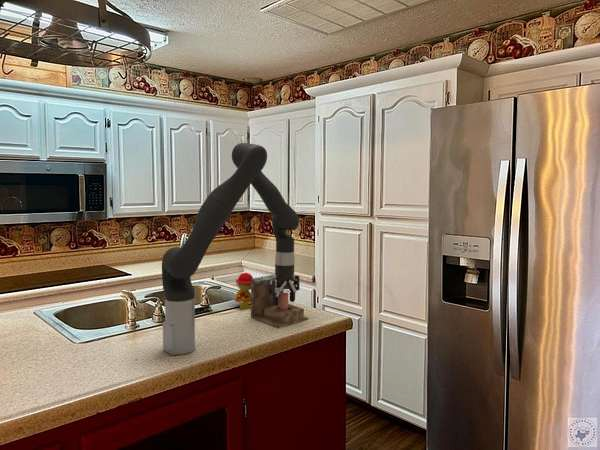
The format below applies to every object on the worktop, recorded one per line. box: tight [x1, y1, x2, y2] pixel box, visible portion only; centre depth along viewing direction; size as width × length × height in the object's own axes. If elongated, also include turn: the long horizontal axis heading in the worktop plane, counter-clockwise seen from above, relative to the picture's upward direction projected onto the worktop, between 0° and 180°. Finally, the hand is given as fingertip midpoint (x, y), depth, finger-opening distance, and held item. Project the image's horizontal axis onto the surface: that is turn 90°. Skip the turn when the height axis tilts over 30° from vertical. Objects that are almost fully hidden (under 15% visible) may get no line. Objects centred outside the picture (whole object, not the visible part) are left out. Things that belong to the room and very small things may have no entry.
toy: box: [234, 272, 254, 310], centre depth 191 cm, size 11×9×15 cm
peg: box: [279, 291, 289, 311], centre depth 174 cm, size 4×4×10 cm
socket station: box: [250, 274, 309, 329], centre depth 176 cm, size 16×16×16 cm
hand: (284, 303), depth 174 cm, fingers open, 8 cm apart
